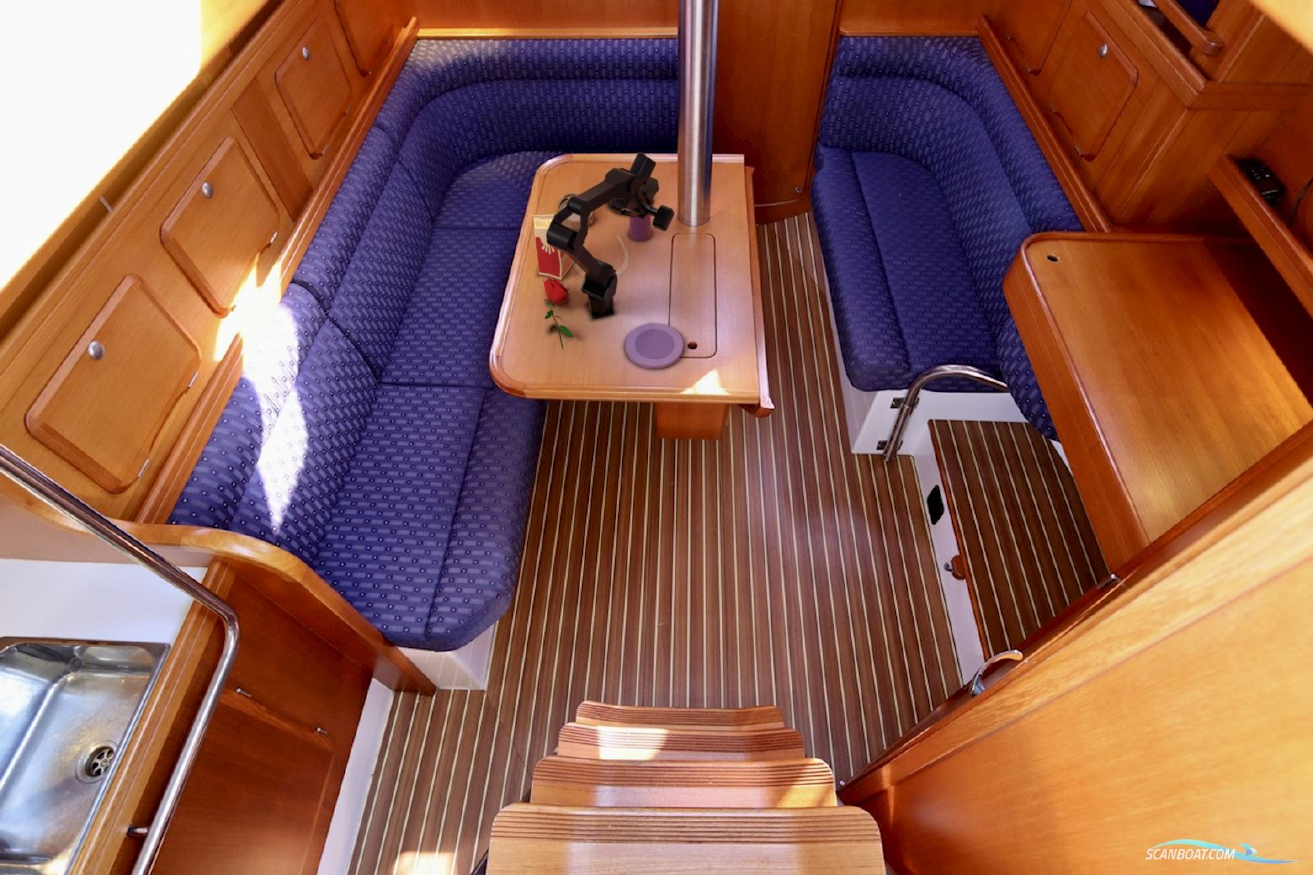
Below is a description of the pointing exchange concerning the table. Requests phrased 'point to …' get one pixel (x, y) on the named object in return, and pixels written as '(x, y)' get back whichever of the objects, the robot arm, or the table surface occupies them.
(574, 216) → the alarm clock
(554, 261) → the milk carton
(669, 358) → the plate
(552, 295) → the flower
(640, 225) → the tumbler
